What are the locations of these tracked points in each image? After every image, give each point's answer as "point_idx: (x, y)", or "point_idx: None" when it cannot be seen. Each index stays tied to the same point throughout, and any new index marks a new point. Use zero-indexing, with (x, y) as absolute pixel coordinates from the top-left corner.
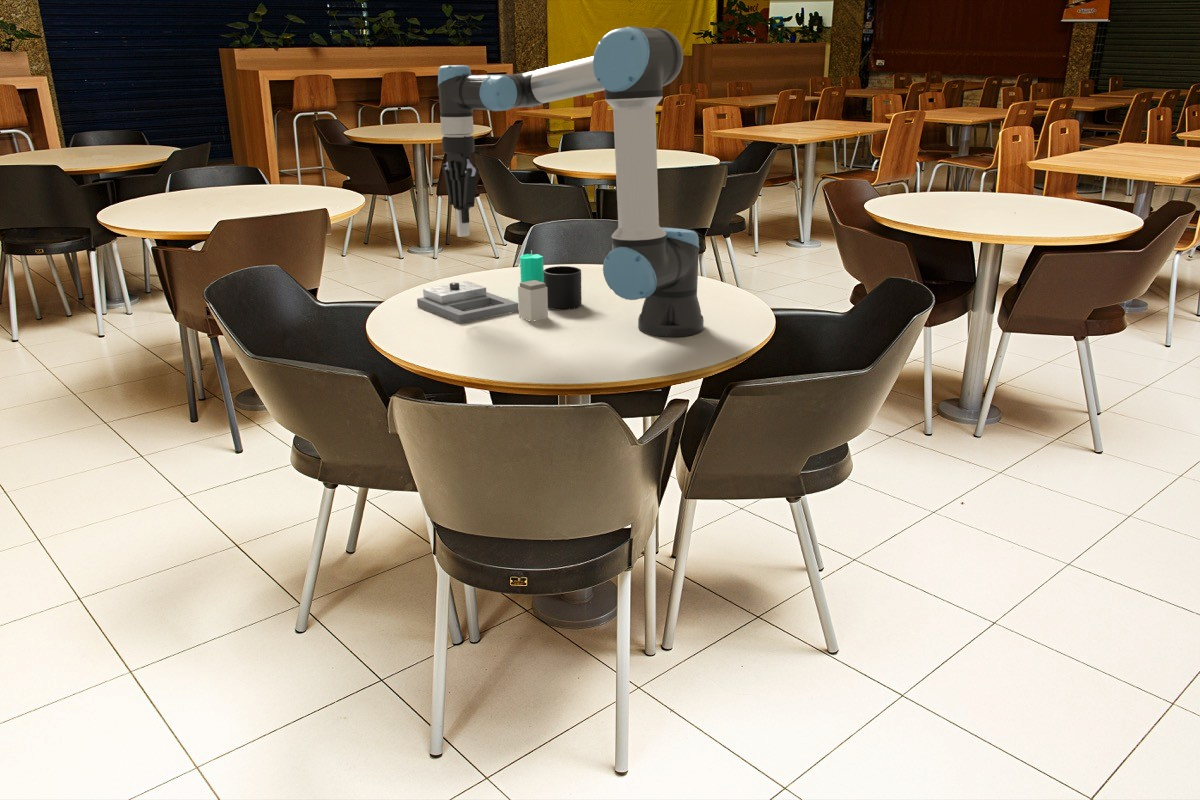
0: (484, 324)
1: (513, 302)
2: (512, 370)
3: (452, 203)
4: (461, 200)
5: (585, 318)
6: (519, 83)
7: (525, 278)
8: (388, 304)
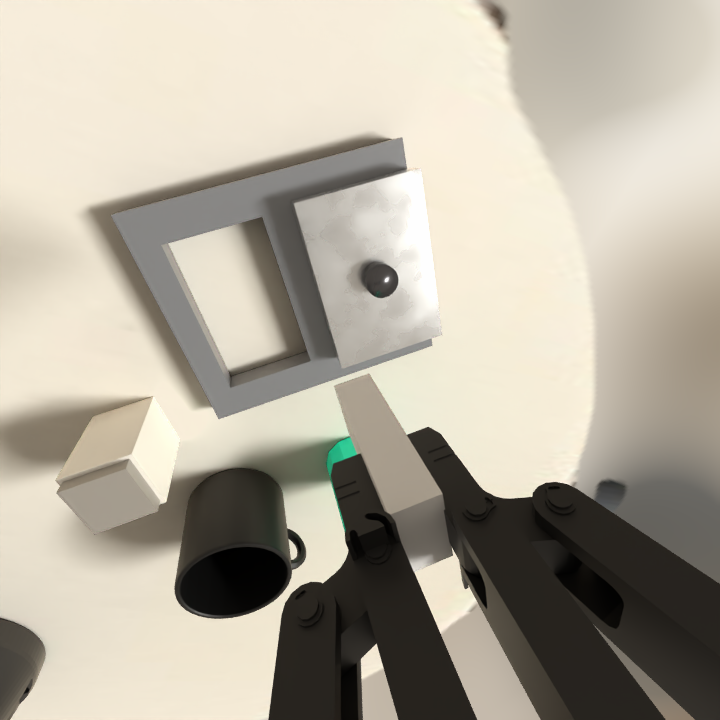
0: (86, 287)
1: (230, 408)
2: None
3: (532, 508)
4: (375, 637)
5: None
6: None
7: None
8: (466, 41)
